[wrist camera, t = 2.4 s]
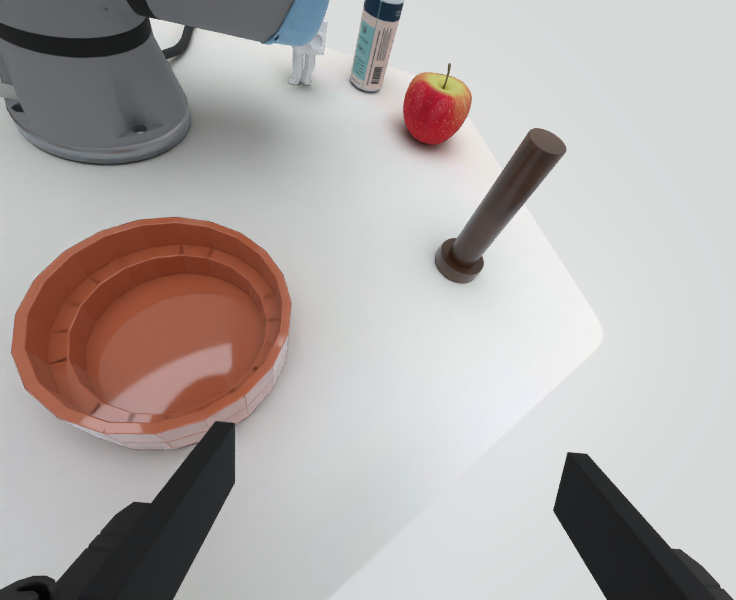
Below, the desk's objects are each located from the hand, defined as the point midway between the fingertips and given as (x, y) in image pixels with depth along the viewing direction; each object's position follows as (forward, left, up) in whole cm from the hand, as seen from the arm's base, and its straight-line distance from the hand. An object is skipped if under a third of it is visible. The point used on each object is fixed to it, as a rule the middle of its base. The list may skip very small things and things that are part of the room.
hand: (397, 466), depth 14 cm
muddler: (-21, +12, -13) cm, 27 cm away
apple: (-43, +11, -13) cm, 46 cm away
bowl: (-10, -12, -13) cm, 20 cm away
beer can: (-53, +3, -13) cm, 55 cm away
